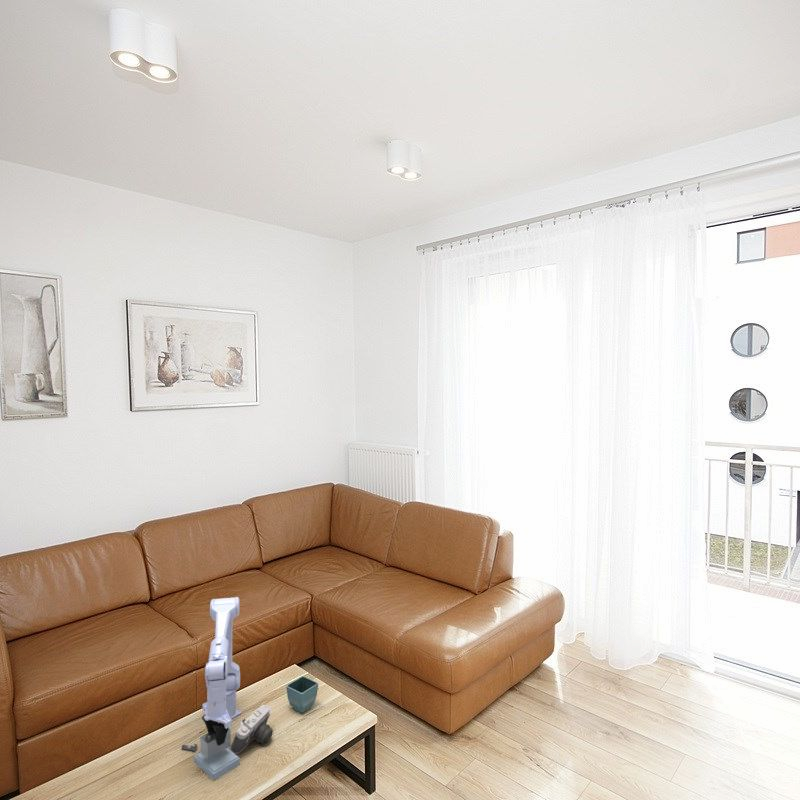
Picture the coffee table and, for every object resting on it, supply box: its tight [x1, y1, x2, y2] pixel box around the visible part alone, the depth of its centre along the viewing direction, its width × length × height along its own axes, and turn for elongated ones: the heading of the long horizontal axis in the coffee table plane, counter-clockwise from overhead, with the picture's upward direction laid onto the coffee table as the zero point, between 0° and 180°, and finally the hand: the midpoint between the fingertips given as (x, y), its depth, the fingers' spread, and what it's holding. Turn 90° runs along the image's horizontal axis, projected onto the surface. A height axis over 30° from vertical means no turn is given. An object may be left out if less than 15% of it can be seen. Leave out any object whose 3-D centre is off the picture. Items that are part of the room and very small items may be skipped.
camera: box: [229, 704, 274, 755], centre depth 173 cm, size 9×16×10 cm, turn 157°
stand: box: [193, 747, 241, 781], centre depth 163 cm, size 12×9×2 cm
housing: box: [199, 728, 232, 759], centre depth 163 cm, size 4×8×6 cm, turn 139°
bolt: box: [181, 743, 198, 752], centre depth 169 cm, size 5×2×2 cm, turn 79°
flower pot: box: [285, 675, 319, 714], centre depth 192 cm, size 9×9×9 cm
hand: (216, 740), depth 163 cm, fingers closed on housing, 4 cm apart
